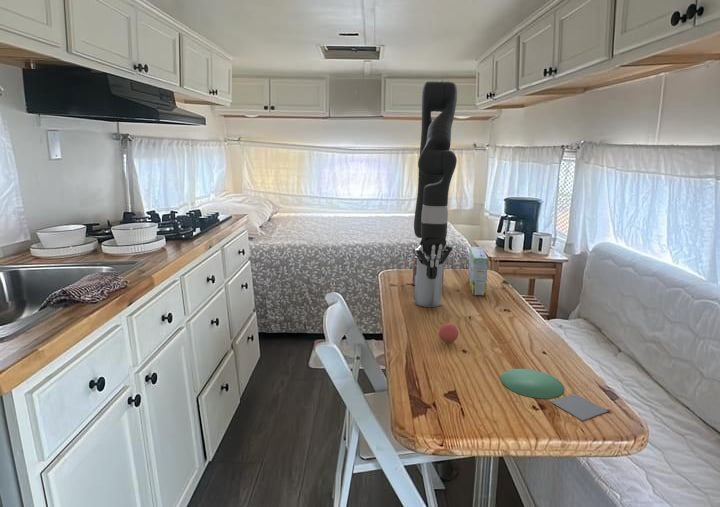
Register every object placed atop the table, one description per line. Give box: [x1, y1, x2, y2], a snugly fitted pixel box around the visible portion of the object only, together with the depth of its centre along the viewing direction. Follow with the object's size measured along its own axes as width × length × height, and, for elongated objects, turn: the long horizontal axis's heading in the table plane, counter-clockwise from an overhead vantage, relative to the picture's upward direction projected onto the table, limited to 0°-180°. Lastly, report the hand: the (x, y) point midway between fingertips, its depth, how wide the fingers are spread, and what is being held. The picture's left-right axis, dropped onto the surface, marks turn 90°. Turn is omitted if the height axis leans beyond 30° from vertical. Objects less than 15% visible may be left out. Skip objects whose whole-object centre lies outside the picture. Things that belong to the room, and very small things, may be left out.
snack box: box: [467, 246, 489, 297], centre depth 183 cm, size 21×6×15 cm, turn 172°
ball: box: [438, 322, 459, 344], centre depth 131 cm, size 6×6×6 cm
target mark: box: [500, 368, 565, 400], centre depth 108 cm, size 14×14×1 cm
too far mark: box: [550, 393, 609, 422], centre depth 98 cm, size 8×8×1 cm
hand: (431, 278), depth 136 cm, fingers closed
